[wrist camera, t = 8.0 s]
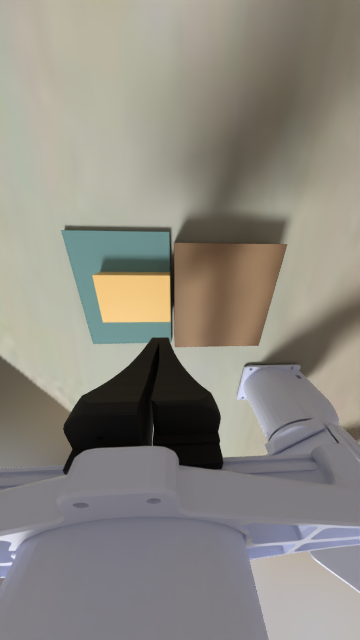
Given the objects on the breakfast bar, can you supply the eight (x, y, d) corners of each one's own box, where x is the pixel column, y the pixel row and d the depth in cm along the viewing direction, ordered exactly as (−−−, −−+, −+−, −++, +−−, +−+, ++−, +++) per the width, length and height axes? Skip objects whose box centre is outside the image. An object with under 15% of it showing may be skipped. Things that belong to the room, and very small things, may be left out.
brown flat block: (270, 243, 18) (287, 244, 15) (248, 333, 23) (258, 345, 21) (173, 242, 18) (174, 242, 15) (174, 334, 23) (174, 347, 20)
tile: (170, 272, 18) (169, 275, 17) (170, 315, 21) (170, 321, 19) (100, 271, 18) (92, 275, 16) (108, 315, 21) (103, 322, 19)
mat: (169, 232, 17) (169, 232, 17) (171, 340, 23) (171, 342, 23) (64, 230, 17) (61, 230, 16) (94, 341, 23) (93, 343, 22)
